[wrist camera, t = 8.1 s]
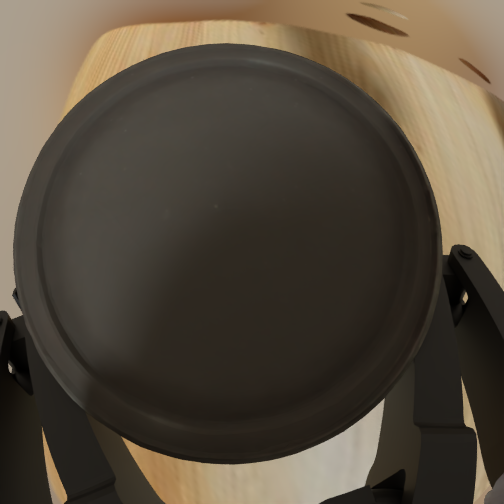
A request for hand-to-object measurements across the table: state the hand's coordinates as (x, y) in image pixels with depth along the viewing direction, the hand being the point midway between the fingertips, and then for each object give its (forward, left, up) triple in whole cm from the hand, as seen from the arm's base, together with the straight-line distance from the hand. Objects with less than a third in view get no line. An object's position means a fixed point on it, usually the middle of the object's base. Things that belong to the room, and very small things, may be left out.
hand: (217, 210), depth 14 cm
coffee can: (0, +3, -6) cm, 6 cm away
